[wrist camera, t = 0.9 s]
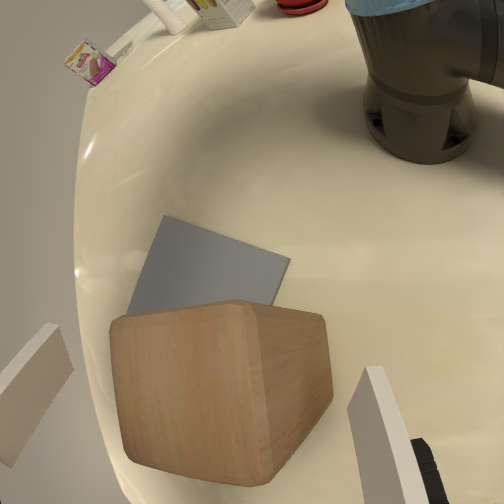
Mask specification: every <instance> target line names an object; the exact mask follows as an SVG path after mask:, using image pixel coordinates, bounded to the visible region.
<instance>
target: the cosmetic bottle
mask: <svg viewBox="0 0 504 504" xmlns="http://www.w3.org/2000/svg"><path fill="white" fill-rule="evenodd" d="M142 1H143V2H144V3H145V4H146V5H147V6H148V7H149V8H150V9H151V10H152V11H153V13H154V14H155V15H156V16H157V17H158V18H159V19H160V20H161V21H162V23H163V24H164V25H165V26H166V28H167V29H168V30H169V32H170V34H171V35H176V34H178V33H180V32H181V31H182V30H184V29H185V28H186V27H187V25H188V22H187V21H185V20H184V19H183V18H181V17H180V16H179V15H178V14H177V13H175V12H174V11H173V10H172V9H171V8H170V7H169V6H168V5H167V4H166V3H164V2H163V1H162V0H142Z"/></svg>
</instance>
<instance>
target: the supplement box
mask: <svg viewBox="0 0 504 504" xmlns="http://www.w3.org/2000/svg"><path fill="white" fill-rule="evenodd" d="M186 1H187V3H188V4H189V5H190V6H191V7H192V8H193V10H194V11H195V12H196V13H197V14H198V15H199V17H200V18H201V19H202V20H203V21H204V23H205V24H206V25H207V26H208V27H209V29H210V30H215V29H223V28H233V27H238V26H239V25H240V24H241V23H242V22H243V20H244V19H245V18H246V17H247V16H248V15H249V14H250V13H251V12H252V11H253V10H254V8H255V7H256V6H255V5H254V3H253V2H252V0H186Z"/></svg>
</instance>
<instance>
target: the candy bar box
mask: <svg viewBox="0 0 504 504" xmlns="http://www.w3.org/2000/svg"><path fill="white" fill-rule="evenodd" d="M64 65H66V66H67V67H68V68H70V69H71V70H72V71H74V72H75V73H77V74H78V75H80V76H81V77H82V78H84V79H85V80H86V81H88V82H89V83H91V84H92V85H93V86H96V85H97V84H98V83H99V82H100V81H101V80H102V79H103V78H104V77H105V76H106V75H107V74H108V73H109V72H110V71H111V70H112V69H114V68H115V67H116V60H114V59H113V58H112V57H111V56H109V55H108V54H107V53H106V52H104V51H103V50H102V49H101V48H99V47H98V46H97V45H96V44H94V43H93V42H92V41H91V40H89V39H88V38H85V39H84V40H83V41H82V42H81V43H80V44H79V45H78V47H76V49H75V50H74V51H73V52H72V53H71V54H70V55H69V56H68V57H67V58H66V60H65V62H64Z"/></svg>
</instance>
